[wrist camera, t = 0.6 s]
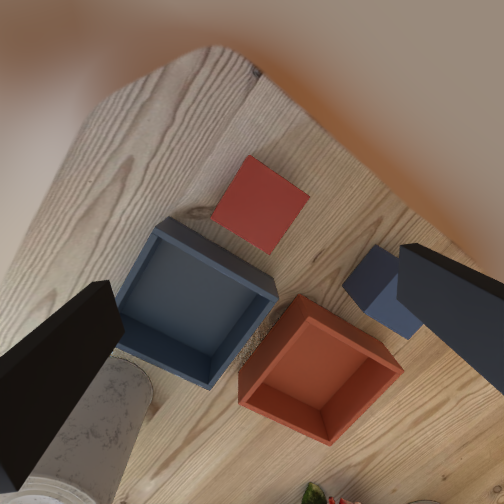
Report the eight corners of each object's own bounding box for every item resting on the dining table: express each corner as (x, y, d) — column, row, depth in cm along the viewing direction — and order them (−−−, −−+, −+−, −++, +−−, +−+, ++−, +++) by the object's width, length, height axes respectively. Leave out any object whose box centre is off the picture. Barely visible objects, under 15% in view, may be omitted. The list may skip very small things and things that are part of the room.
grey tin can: (57, 363, 31) (-55, 487, 19) (140, 350, 31) (79, 467, 19) (86, 425, 34) (4, 564, 22) (162, 413, 34) (120, 547, 22)
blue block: (375, 243, 28) (406, 263, 22) (413, 270, 29) (451, 294, 24) (341, 285, 29) (363, 312, 24) (379, 309, 30) (408, 340, 25)
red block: (247, 155, 24) (249, 154, 19) (296, 189, 26) (310, 196, 20) (216, 207, 26) (210, 218, 21) (263, 237, 27) (269, 255, 22)
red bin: (298, 293, 29) (308, 315, 25) (382, 342, 32) (405, 371, 27) (238, 371, 32) (237, 404, 28) (319, 411, 35) (330, 447, 30)
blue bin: (168, 215, 26) (154, 226, 22) (273, 278, 28) (279, 298, 24) (114, 311, 29) (93, 337, 25) (214, 360, 31) (209, 391, 27)
